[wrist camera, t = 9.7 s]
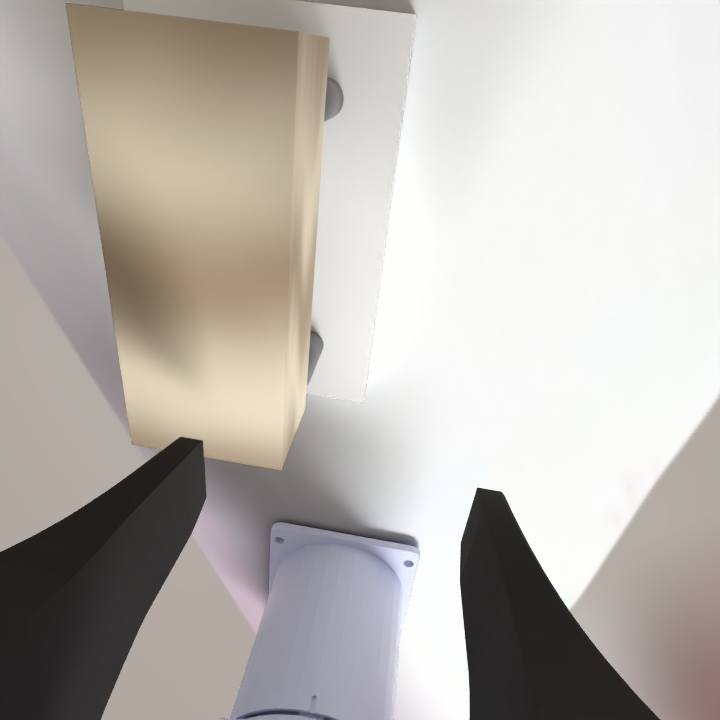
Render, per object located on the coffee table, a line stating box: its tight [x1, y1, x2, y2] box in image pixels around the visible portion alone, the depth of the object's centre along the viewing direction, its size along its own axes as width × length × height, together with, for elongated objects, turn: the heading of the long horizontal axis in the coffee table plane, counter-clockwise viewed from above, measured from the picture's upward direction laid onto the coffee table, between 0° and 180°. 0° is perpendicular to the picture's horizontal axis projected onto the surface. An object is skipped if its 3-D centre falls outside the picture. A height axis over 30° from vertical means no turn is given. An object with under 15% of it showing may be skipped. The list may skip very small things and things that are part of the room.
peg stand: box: [122, 0, 416, 403], centre depth 18 cm, size 14×9×4 cm, turn 174°
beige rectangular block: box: [66, 3, 330, 470], centre depth 15 cm, size 12×5×4 cm, turn 174°
